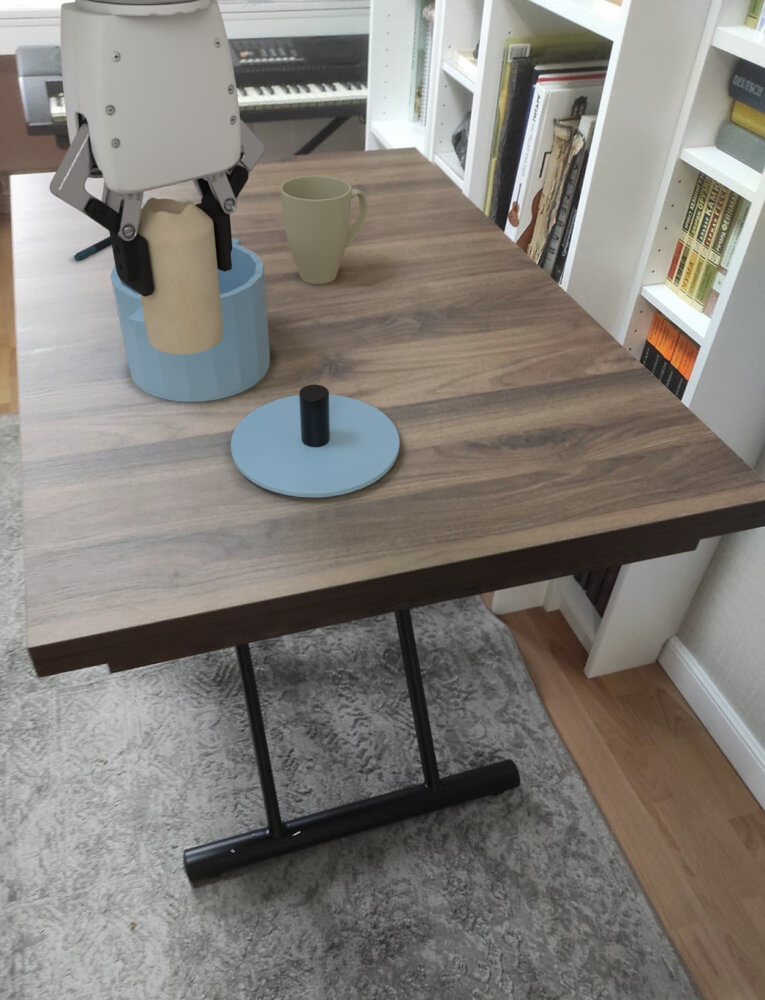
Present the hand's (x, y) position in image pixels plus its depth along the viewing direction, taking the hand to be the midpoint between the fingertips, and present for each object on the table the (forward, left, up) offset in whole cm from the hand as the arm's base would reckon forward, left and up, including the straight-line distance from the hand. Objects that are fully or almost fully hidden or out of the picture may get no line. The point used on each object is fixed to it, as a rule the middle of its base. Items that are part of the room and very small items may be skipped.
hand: (178, 274), depth 58 cm
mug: (-8, +52, -24) cm, 58 cm away
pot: (-13, +25, -24) cm, 37 cm away
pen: (-41, +52, -24) cm, 70 cm away
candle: (0, 0, -5) cm, 5 cm away
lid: (+5, +14, -23) cm, 27 cm away
